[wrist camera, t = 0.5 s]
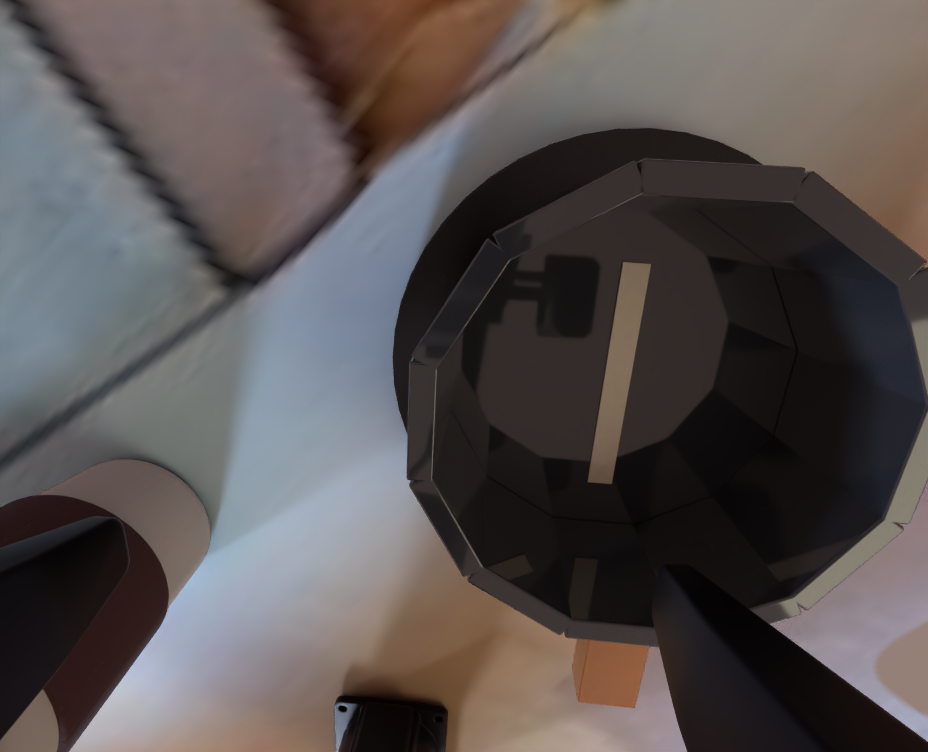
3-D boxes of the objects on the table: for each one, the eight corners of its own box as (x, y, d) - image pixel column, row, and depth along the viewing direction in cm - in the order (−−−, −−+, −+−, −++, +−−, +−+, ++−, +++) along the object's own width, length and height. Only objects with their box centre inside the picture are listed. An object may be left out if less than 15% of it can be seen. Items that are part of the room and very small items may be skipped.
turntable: (765, 558, 23) (779, 576, 22) (395, 524, 24) (390, 539, 22) (894, 147, 17) (922, 142, 16) (402, 121, 18) (395, 114, 17)
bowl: (733, 593, 22) (822, 734, 16) (427, 564, 23) (400, 689, 17) (850, 195, 17) (1054, 180, 11) (443, 172, 17) (413, 145, 11)
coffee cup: (99, 390, 22) (-597, 686, 8) (275, 509, 24) (-56, 937, 10) (25, 525, 25) (-589, 921, 11) (186, 624, 27) (-172, 1088, 12)
